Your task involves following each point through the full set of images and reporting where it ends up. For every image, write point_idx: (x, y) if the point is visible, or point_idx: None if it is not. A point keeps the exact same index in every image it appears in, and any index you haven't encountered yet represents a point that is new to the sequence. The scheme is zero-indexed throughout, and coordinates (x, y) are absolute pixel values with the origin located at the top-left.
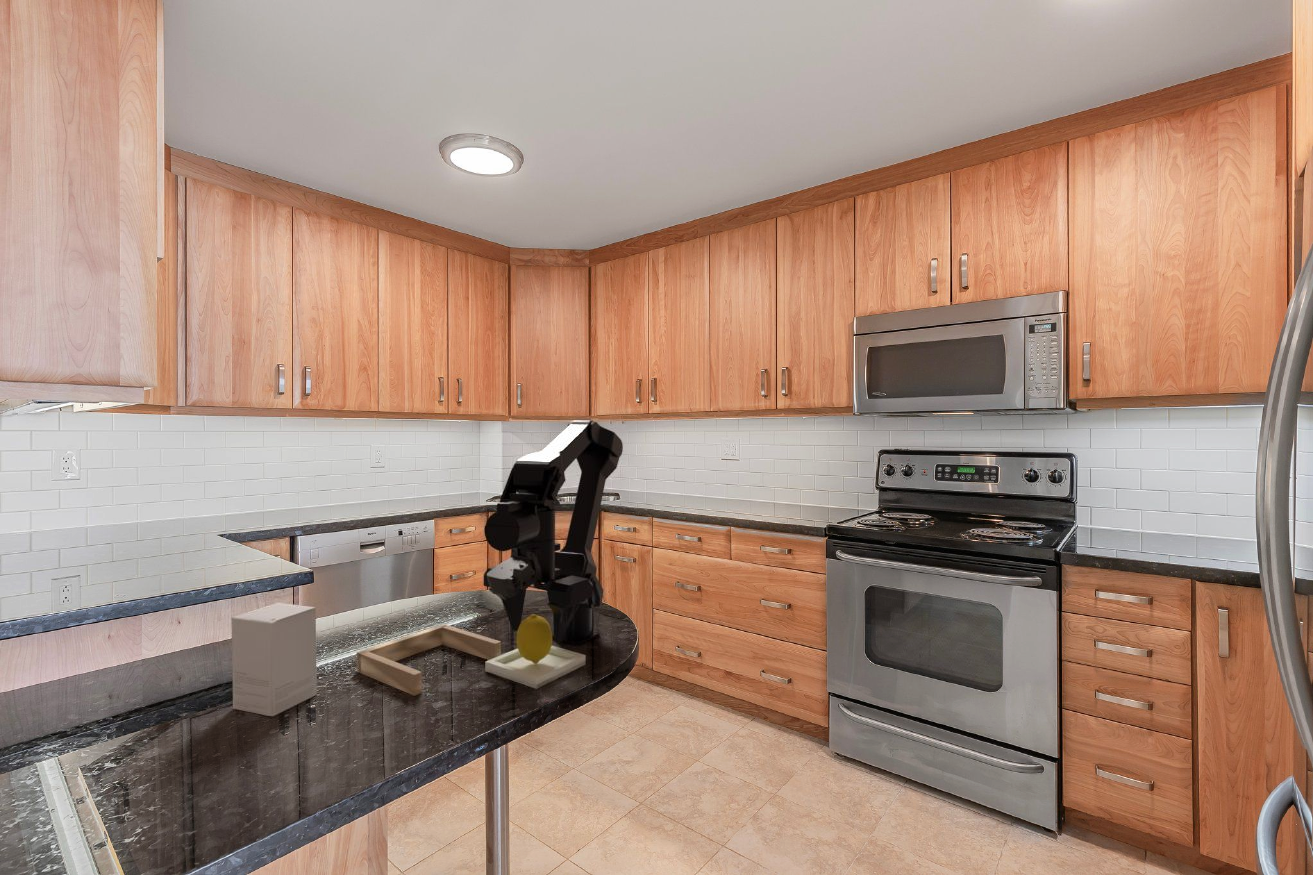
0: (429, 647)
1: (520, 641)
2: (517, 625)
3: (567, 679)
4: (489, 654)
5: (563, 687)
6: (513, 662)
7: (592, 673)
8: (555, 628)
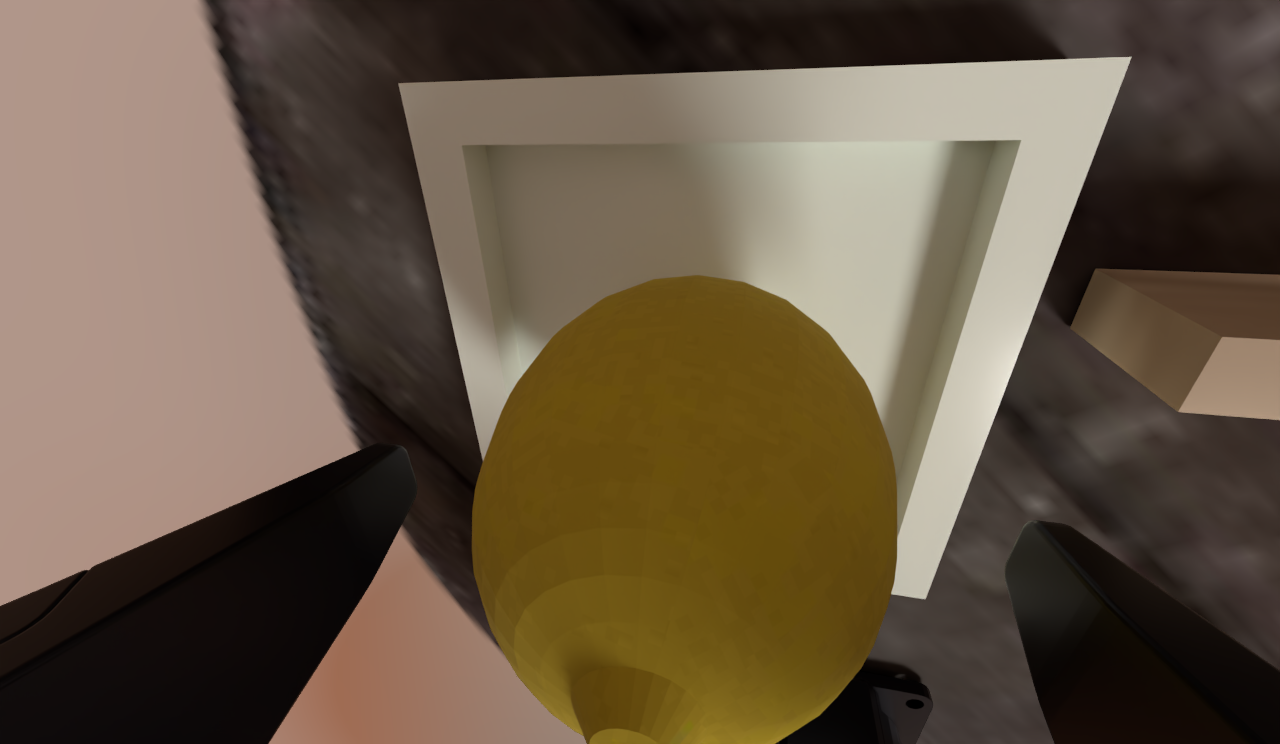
0: None
1: (713, 307)
2: (1038, 605)
3: (436, 316)
4: (1220, 287)
5: (361, 218)
6: (882, 296)
7: (414, 432)
8: (219, 534)
